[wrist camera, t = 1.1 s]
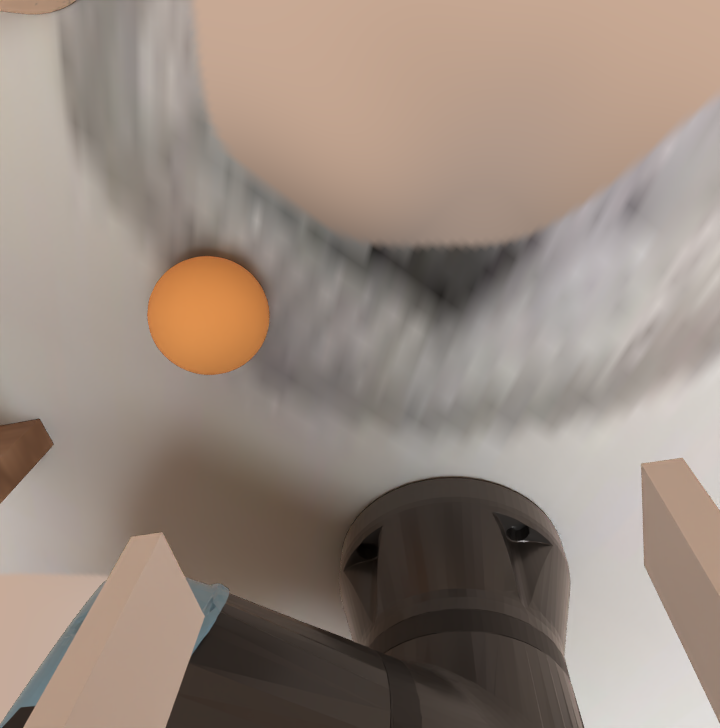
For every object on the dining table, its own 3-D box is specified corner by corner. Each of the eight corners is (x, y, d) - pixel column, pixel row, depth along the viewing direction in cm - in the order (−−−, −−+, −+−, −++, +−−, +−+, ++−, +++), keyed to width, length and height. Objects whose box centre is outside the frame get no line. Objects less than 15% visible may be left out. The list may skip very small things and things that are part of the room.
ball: (292, 333, 34) (271, 385, 28) (194, 352, 34) (156, 405, 29) (260, 231, 31) (231, 267, 26) (155, 254, 32) (106, 293, 27)
